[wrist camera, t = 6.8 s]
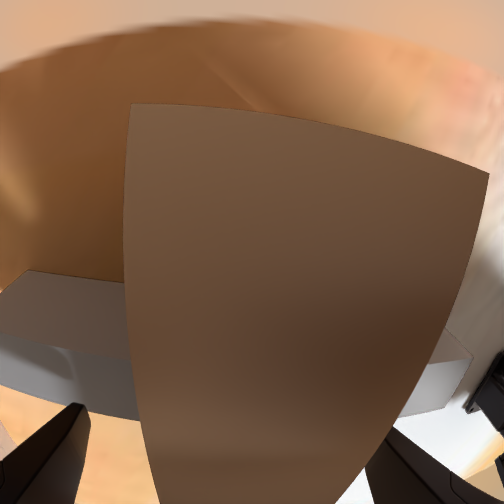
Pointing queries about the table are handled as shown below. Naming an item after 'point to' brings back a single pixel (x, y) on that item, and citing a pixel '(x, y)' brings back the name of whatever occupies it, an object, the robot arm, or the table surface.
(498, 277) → the table surface
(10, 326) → the notched gray bar
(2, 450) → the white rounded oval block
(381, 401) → the walnut slat
